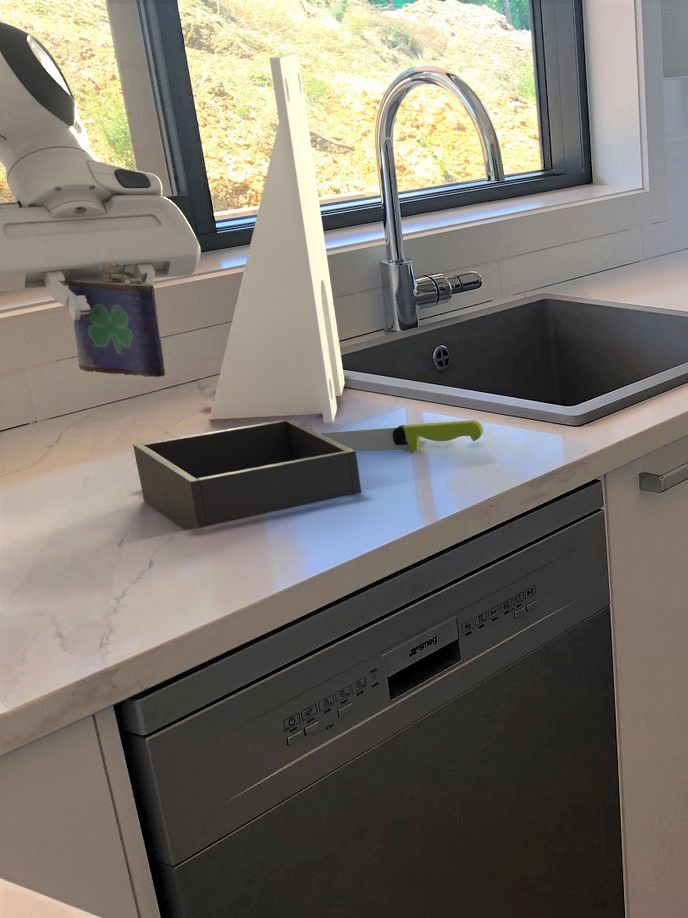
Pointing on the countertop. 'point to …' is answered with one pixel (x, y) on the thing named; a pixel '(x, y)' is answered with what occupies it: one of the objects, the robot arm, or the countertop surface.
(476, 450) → the countertop surface
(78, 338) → the flask
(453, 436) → the kitchen knife
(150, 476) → the open dark grey box
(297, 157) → the white bracket plate
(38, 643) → the countertop surface
